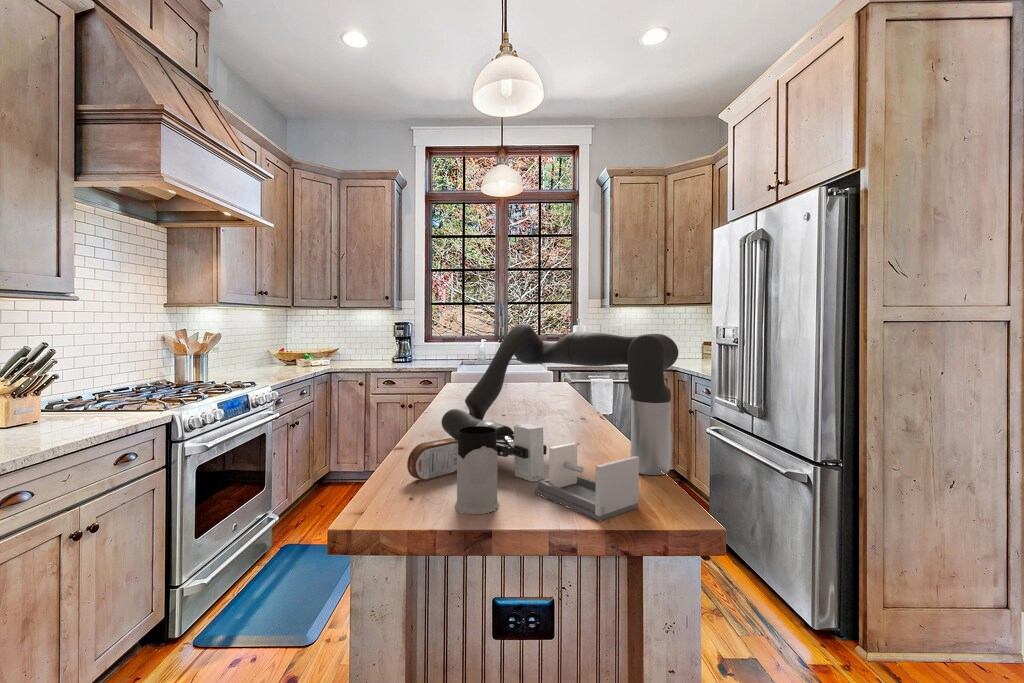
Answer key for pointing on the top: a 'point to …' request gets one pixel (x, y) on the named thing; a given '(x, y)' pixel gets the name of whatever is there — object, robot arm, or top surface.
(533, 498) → the top surface
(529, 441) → the skincare box
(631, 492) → the pusher lane
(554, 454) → the panel
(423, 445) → the tin
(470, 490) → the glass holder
